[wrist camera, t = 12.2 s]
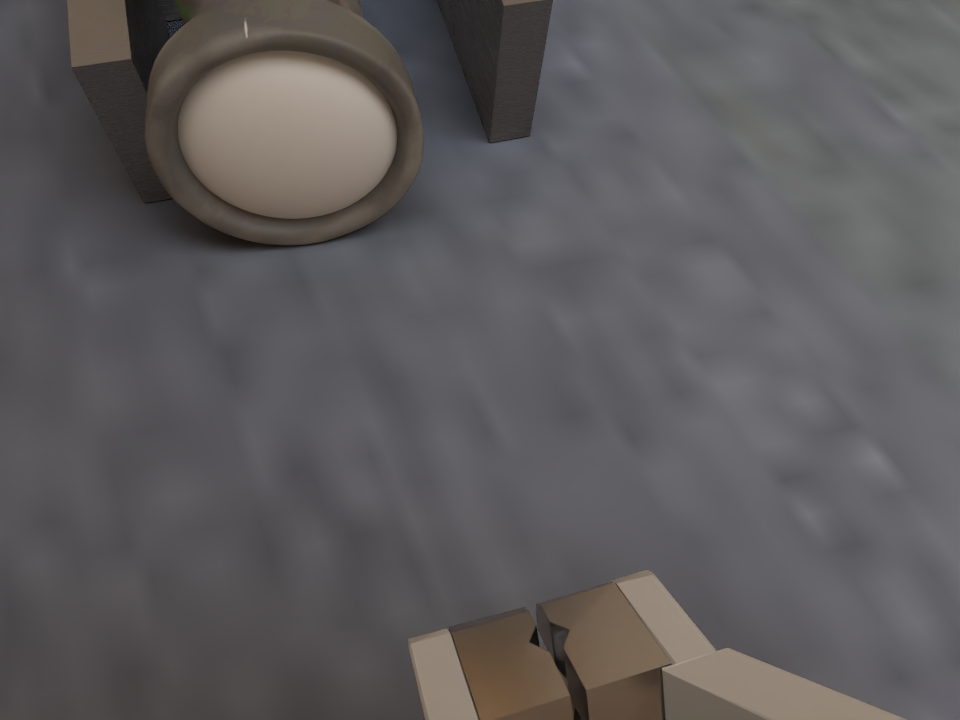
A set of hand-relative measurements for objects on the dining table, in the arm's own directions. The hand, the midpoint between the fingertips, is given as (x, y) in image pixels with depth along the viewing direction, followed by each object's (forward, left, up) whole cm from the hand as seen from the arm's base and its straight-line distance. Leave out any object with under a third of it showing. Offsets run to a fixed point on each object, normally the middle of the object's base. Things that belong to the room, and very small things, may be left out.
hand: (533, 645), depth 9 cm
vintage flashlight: (-1, +21, -12) cm, 24 cm away
